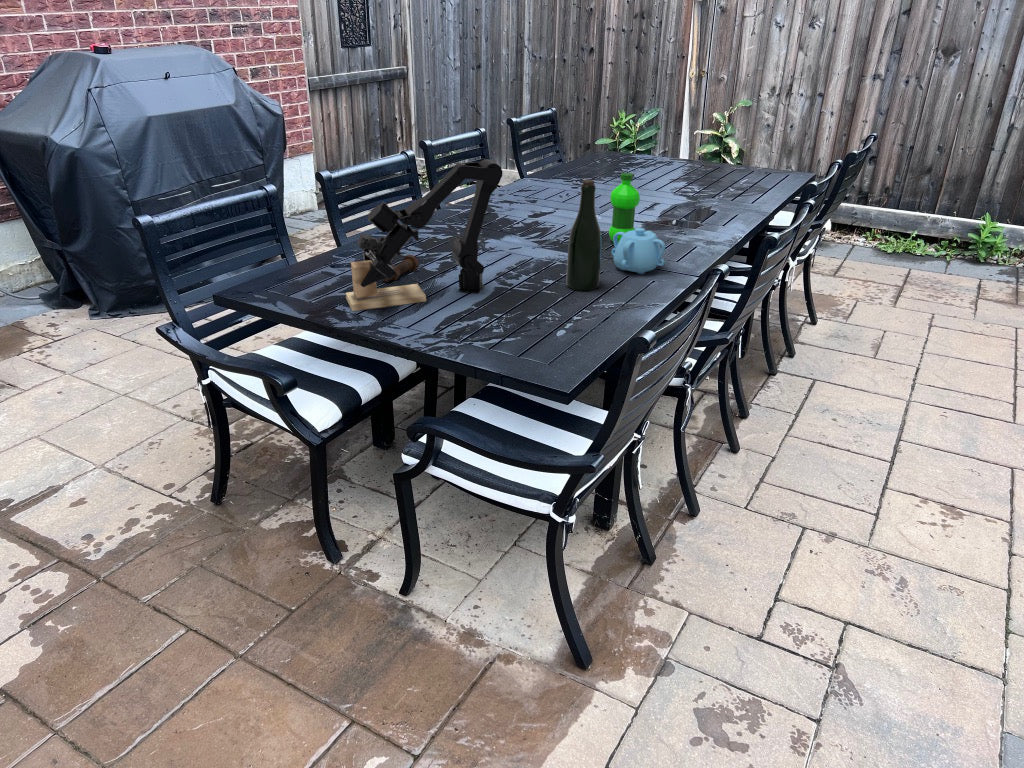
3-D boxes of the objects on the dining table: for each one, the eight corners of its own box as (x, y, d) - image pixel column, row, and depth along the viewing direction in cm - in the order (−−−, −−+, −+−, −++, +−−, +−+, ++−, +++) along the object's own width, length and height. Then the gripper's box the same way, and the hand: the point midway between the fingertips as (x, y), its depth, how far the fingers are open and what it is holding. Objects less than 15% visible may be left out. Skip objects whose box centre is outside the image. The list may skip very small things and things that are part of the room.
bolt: (383, 288, 236) (411, 272, 247) (393, 283, 233) (421, 267, 244) (374, 271, 235) (403, 256, 246) (384, 266, 232) (413, 251, 243)
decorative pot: (608, 260, 256) (611, 221, 250) (654, 260, 257) (658, 221, 250) (616, 277, 242) (619, 236, 235) (665, 276, 243) (669, 236, 236)
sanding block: (373, 292, 222) (371, 260, 217) (377, 297, 218) (374, 265, 213) (353, 294, 220) (350, 262, 216) (357, 300, 216) (354, 267, 211)
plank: (417, 289, 230) (417, 283, 229) (426, 301, 222) (425, 294, 221) (346, 298, 223) (345, 292, 222) (352, 311, 214) (351, 304, 214)
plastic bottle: (632, 248, 268) (639, 178, 256) (604, 245, 270) (609, 176, 259) (637, 240, 276) (644, 172, 264) (610, 237, 279) (615, 170, 267)
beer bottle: (603, 290, 231) (610, 183, 215) (570, 292, 229) (575, 185, 213) (594, 279, 240) (601, 175, 224) (562, 280, 238) (567, 176, 222)
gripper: (366, 215, 218) (332, 255, 220) (380, 233, 203) (343, 276, 204) (394, 239, 224) (361, 277, 226) (410, 258, 209) (374, 299, 211)
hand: (359, 282), depth 217 cm, fingers open, 6 cm apart
